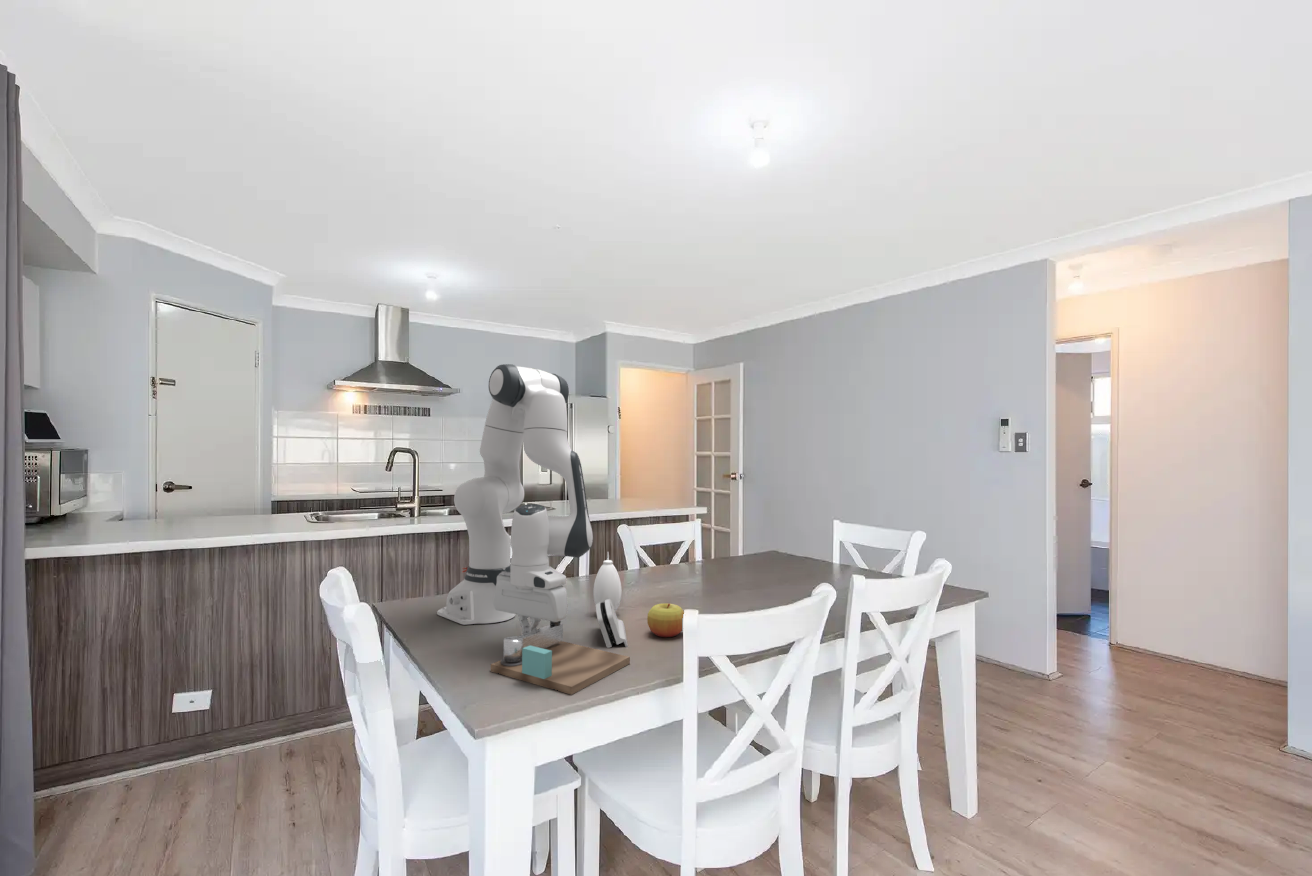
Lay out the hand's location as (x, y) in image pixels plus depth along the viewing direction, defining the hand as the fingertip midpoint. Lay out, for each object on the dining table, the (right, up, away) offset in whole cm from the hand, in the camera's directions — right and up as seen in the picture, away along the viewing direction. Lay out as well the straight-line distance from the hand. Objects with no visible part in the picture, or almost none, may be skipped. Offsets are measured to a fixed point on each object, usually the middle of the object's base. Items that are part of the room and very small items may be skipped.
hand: (529, 634), depth 141 cm
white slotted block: (+18, -5, +11) cm, 22 cm away
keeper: (+5, -2, -18) cm, 19 cm away
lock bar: (+2, -2, -6) cm, 7 cm away
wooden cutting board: (+9, -4, -10) cm, 14 cm away
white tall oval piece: (+16, -5, +31) cm, 35 cm away
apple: (+32, -5, +14) cm, 35 cm away
